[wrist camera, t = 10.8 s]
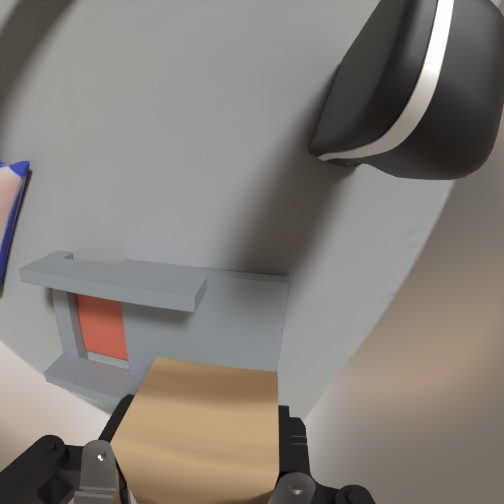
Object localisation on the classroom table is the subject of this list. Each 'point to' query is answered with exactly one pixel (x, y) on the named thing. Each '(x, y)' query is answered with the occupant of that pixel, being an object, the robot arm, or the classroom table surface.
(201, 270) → the channel
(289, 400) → the classroom table surface
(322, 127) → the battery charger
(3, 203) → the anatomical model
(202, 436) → the oak block
